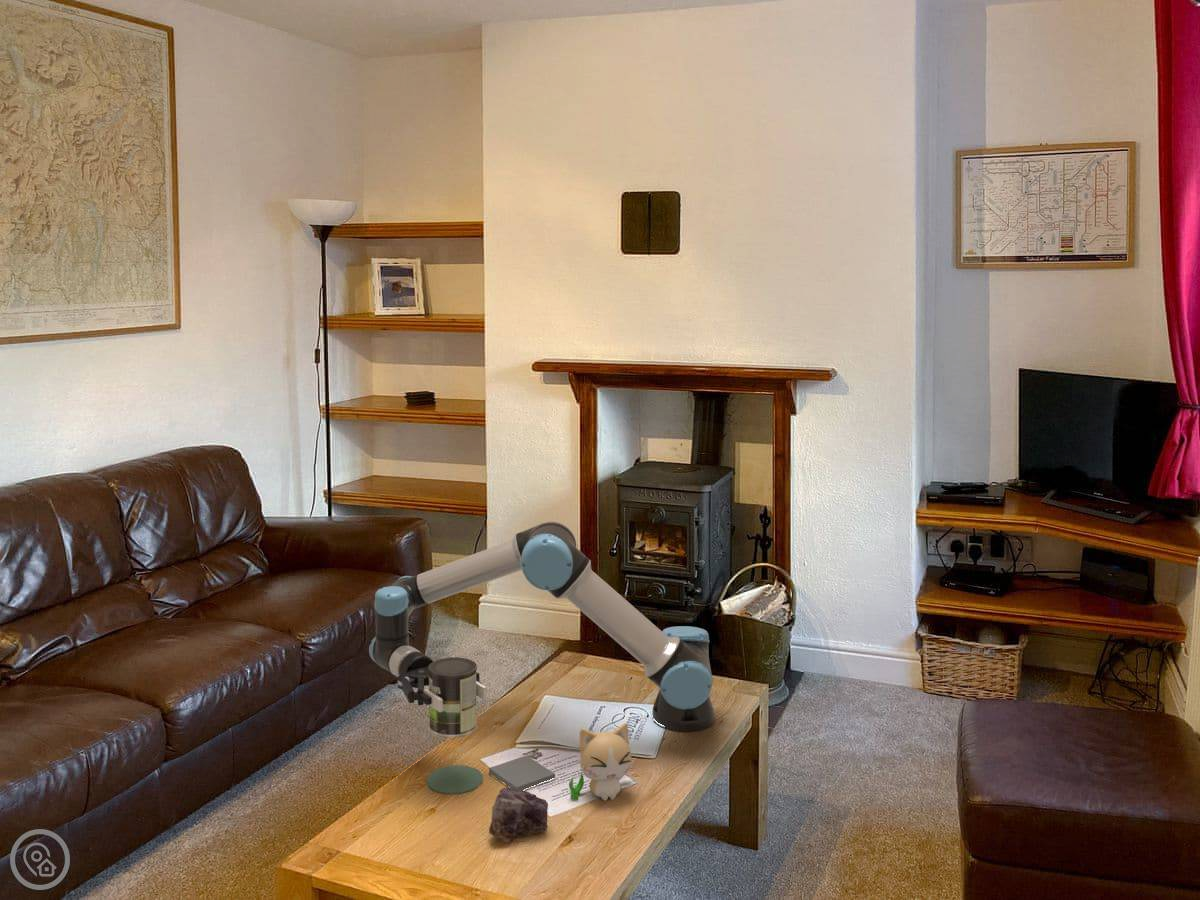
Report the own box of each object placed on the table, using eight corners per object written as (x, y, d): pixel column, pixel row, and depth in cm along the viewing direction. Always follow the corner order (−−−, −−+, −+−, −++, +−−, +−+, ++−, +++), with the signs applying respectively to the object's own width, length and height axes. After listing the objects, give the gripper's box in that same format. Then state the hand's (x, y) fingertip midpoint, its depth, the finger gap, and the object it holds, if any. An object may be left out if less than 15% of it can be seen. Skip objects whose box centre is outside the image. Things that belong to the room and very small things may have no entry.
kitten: (575, 810, 230) (575, 742, 228) (563, 787, 240) (563, 722, 237) (644, 800, 235) (645, 733, 232) (629, 778, 244) (630, 714, 241)
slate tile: (488, 768, 246) (516, 787, 237) (526, 755, 252) (555, 773, 243) (488, 775, 246) (516, 795, 237) (526, 762, 252) (555, 781, 244)
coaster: (494, 778, 244) (494, 775, 244) (455, 799, 234) (455, 797, 234) (454, 762, 251) (454, 760, 251) (415, 782, 241) (415, 780, 241)
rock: (548, 844, 220) (533, 818, 229) (555, 804, 218) (539, 780, 228) (492, 847, 215) (478, 820, 224) (498, 806, 214) (484, 781, 223)
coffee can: (437, 741, 234) (436, 678, 231) (423, 722, 243) (422, 661, 240) (484, 733, 238) (483, 670, 235) (468, 714, 247) (468, 654, 245)
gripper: (456, 671, 260) (508, 703, 243) (367, 694, 247) (416, 730, 230) (455, 640, 259) (508, 670, 242) (366, 662, 245) (415, 695, 228)
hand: (463, 699), depth 236 cm, fingers closed on coffee can, 10 cm apart
